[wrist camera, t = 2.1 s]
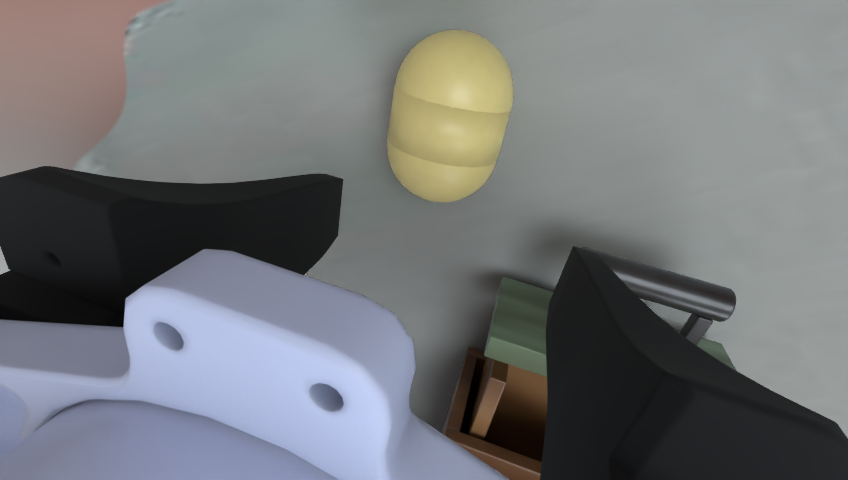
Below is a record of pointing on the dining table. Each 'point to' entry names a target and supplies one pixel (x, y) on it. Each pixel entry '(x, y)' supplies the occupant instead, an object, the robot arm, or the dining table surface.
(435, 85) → the pale yellow lobed ovoid
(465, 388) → the cabinet
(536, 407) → the drawer
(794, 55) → the dining table surface
